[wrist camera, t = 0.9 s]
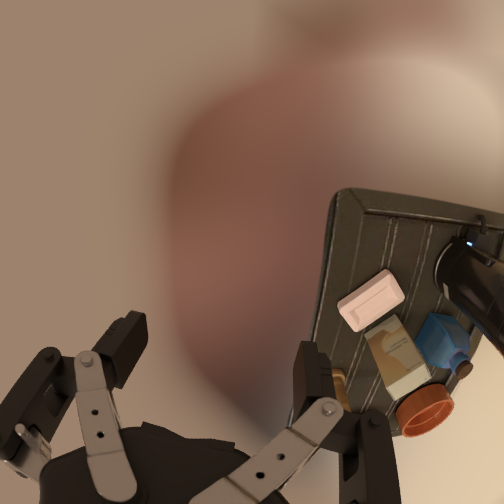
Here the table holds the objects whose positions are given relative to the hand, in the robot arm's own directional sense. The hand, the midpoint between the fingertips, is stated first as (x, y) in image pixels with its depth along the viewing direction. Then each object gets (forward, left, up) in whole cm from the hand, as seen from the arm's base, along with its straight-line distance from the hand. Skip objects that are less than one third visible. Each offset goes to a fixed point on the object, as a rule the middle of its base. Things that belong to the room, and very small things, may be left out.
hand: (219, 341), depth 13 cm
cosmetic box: (+13, +25, -24) cm, 37 cm away
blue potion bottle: (+11, +36, -24) cm, 44 cm away
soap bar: (+7, +20, -23) cm, 31 cm away
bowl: (+31, +46, -23) cm, 60 cm away
